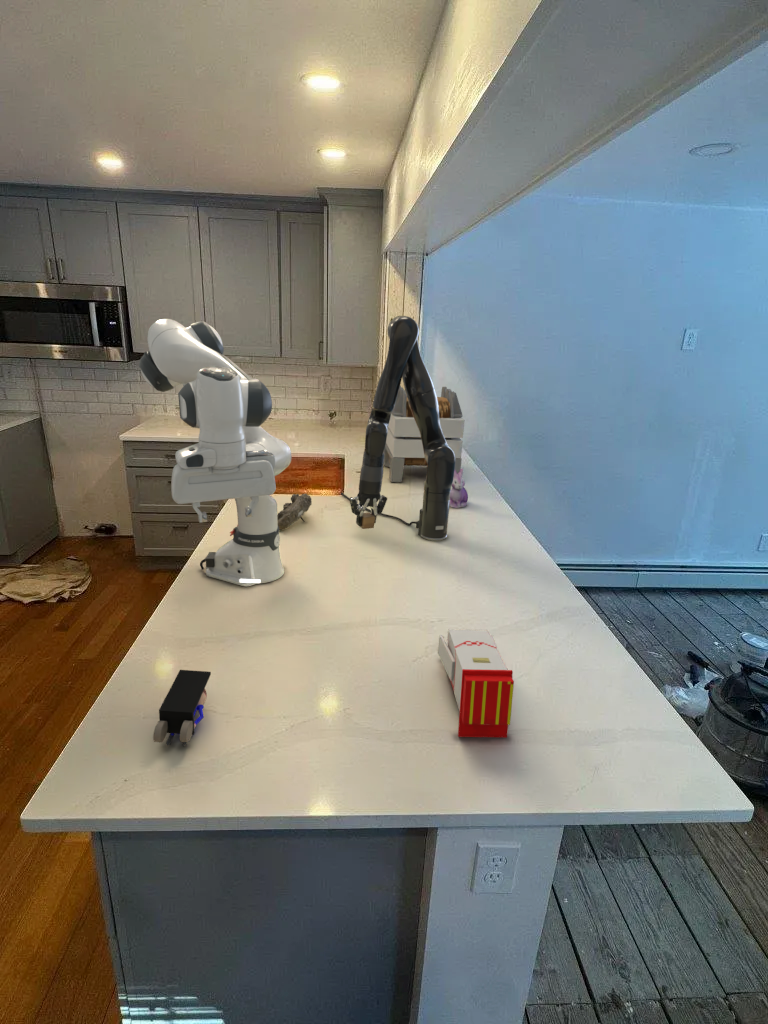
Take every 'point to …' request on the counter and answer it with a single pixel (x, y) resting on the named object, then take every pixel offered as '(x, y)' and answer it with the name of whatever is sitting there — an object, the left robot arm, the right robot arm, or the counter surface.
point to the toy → (478, 682)
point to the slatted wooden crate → (407, 438)
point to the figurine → (458, 491)
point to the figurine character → (182, 706)
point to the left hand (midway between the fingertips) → (226, 518)
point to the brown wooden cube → (367, 521)
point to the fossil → (293, 510)
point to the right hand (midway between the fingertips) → (365, 524)
